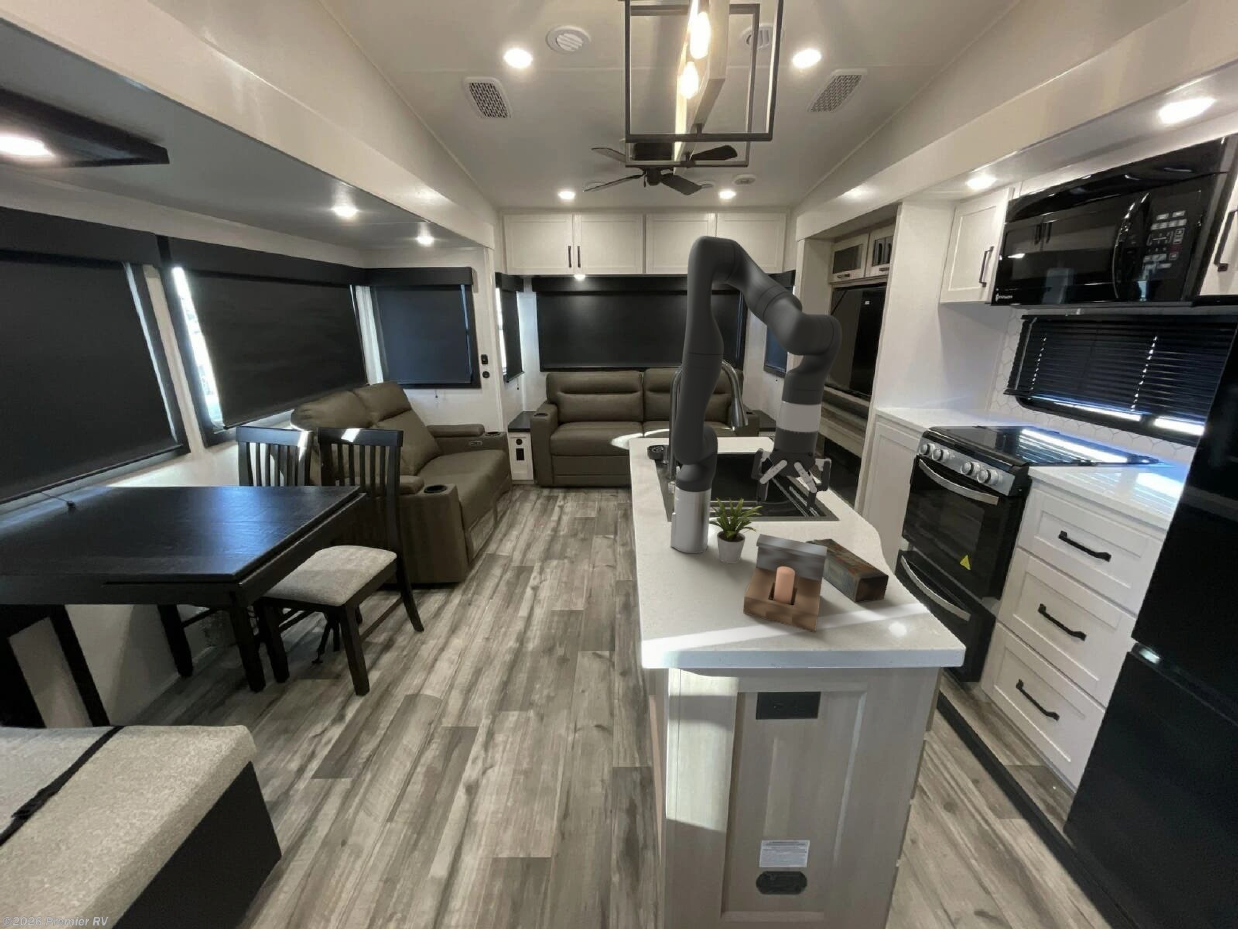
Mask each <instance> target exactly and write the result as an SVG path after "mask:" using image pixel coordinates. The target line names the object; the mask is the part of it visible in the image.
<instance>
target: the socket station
mask: <svg viewBox="0 0 1238 929" xmlns="http://www.w3.org/2000/svg"><path fill="white" fill-rule="evenodd" d="M756 540H757V541H756V544H755V546H756V547H757V556H756V566H755V568H754V571H753V574H752V576H751V579H750V582H749V584H748V586H747V589H746V591H745V594H744V600H743V610H742V613H743V614H747V615H749V616H754V617H757V618H761V619H765V620H768V621H773V622H776V623H780V624H784V625H787V626H790V627H794V628H798V629H802V630H805V631H809V632H813V633H815V632H816V630H817V622H818V618H819V609H820V607H819V606H820V602H821V601H820V599H821V591H822V584H823V578H824V577H823V571H824V565H825V561H826V553H827V547H825V546H820V545H815V544H810V543H805V542H806V541H805V542H804V541H799V540H793V539H788V538H785V537H779V536H773V535H767V534H762V533H760V534H759V535H758V538H757V539H756ZM779 567H789V568H792V569H793V570H794V571H795V577H794V584H793V591H792V599H791V605H788V604H784V603H780V602H776V601H773V600H774V592H775V584H776V576H777V569H778V568H779ZM792 604H793V605H792Z"/></svg>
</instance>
